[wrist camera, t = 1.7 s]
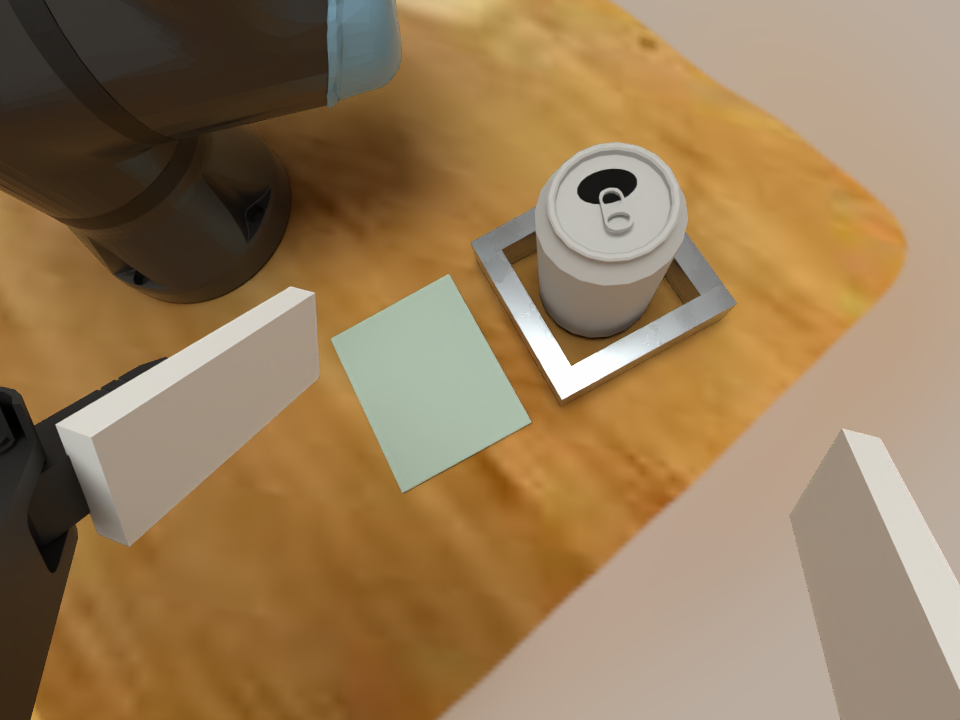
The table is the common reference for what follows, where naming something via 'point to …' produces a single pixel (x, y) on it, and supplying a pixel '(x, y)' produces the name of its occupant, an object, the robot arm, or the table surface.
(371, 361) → the mat
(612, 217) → the can
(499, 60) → the table surface
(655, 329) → the holder
